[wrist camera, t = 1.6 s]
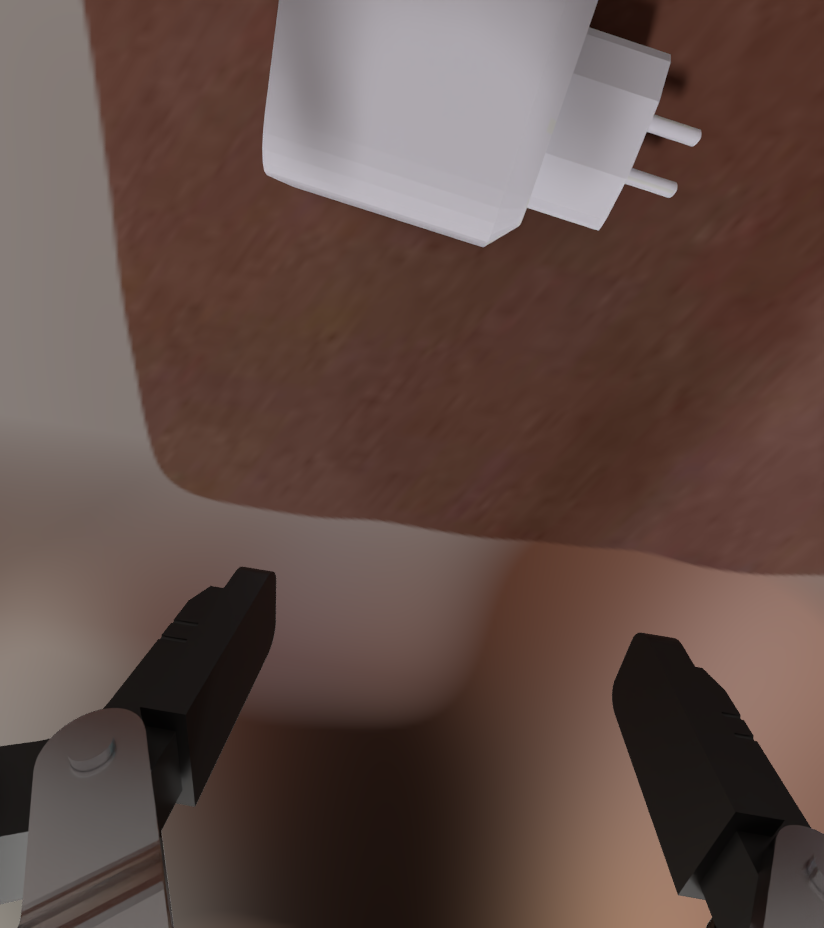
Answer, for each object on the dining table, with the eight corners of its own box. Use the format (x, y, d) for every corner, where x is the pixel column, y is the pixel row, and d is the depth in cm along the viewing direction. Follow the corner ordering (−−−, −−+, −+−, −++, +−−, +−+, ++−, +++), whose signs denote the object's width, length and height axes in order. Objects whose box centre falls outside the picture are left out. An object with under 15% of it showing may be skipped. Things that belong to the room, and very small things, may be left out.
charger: (611, 288, 21) (297, 189, 21) (720, 40, 18) (341, -87, 17) (649, 296, 17) (256, 170, 17) (805, -32, 13) (301, -204, 13)
